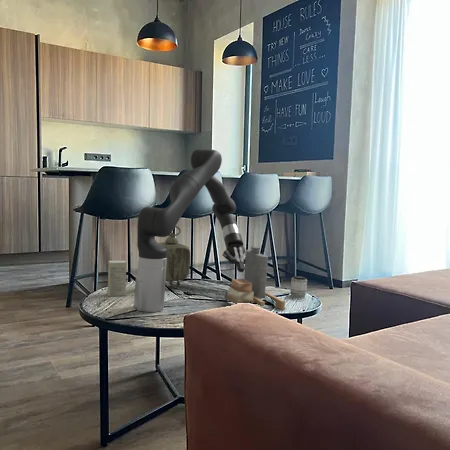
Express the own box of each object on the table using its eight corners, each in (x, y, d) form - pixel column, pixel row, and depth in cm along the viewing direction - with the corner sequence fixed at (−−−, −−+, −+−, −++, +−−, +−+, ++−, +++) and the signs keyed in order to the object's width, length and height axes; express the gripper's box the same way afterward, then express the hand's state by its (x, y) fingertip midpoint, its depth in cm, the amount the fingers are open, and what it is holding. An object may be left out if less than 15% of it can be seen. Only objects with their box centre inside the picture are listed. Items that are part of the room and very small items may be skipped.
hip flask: (265, 303, 166) (270, 250, 164) (255, 303, 165) (260, 249, 163) (249, 292, 181) (253, 243, 179) (239, 293, 179) (243, 243, 178)
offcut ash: (238, 301, 157) (238, 292, 156) (227, 295, 164) (228, 287, 164) (253, 300, 159) (253, 291, 159) (242, 294, 167) (242, 286, 166)
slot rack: (260, 310, 156) (261, 302, 155) (229, 291, 181) (230, 283, 181) (284, 309, 159) (285, 301, 159) (250, 290, 185) (251, 283, 185)
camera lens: (288, 293, 184) (290, 275, 184) (303, 294, 185) (305, 275, 184) (292, 297, 178) (293, 278, 178) (307, 298, 179) (309, 279, 178)
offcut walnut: (236, 309, 157) (236, 301, 156) (226, 302, 165) (226, 294, 165) (254, 308, 159) (254, 300, 159) (243, 302, 168) (244, 294, 167)
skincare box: (124, 293, 166) (126, 260, 165) (125, 296, 162) (127, 262, 161) (106, 293, 164) (108, 259, 163) (107, 296, 160) (108, 262, 159)
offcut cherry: (238, 292, 157) (239, 283, 157) (231, 287, 164) (231, 279, 164) (251, 291, 159) (252, 283, 159) (243, 287, 166) (244, 279, 165)
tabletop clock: (180, 284, 186) (184, 224, 184) (190, 289, 179) (194, 227, 176) (147, 286, 179) (151, 224, 176) (156, 292, 171) (160, 226, 169)
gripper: (220, 231, 187) (230, 265, 177) (249, 232, 192) (260, 266, 182) (215, 242, 192) (223, 276, 182) (243, 242, 197) (253, 276, 187)
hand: (241, 271), depth 182 cm, fingers closed
